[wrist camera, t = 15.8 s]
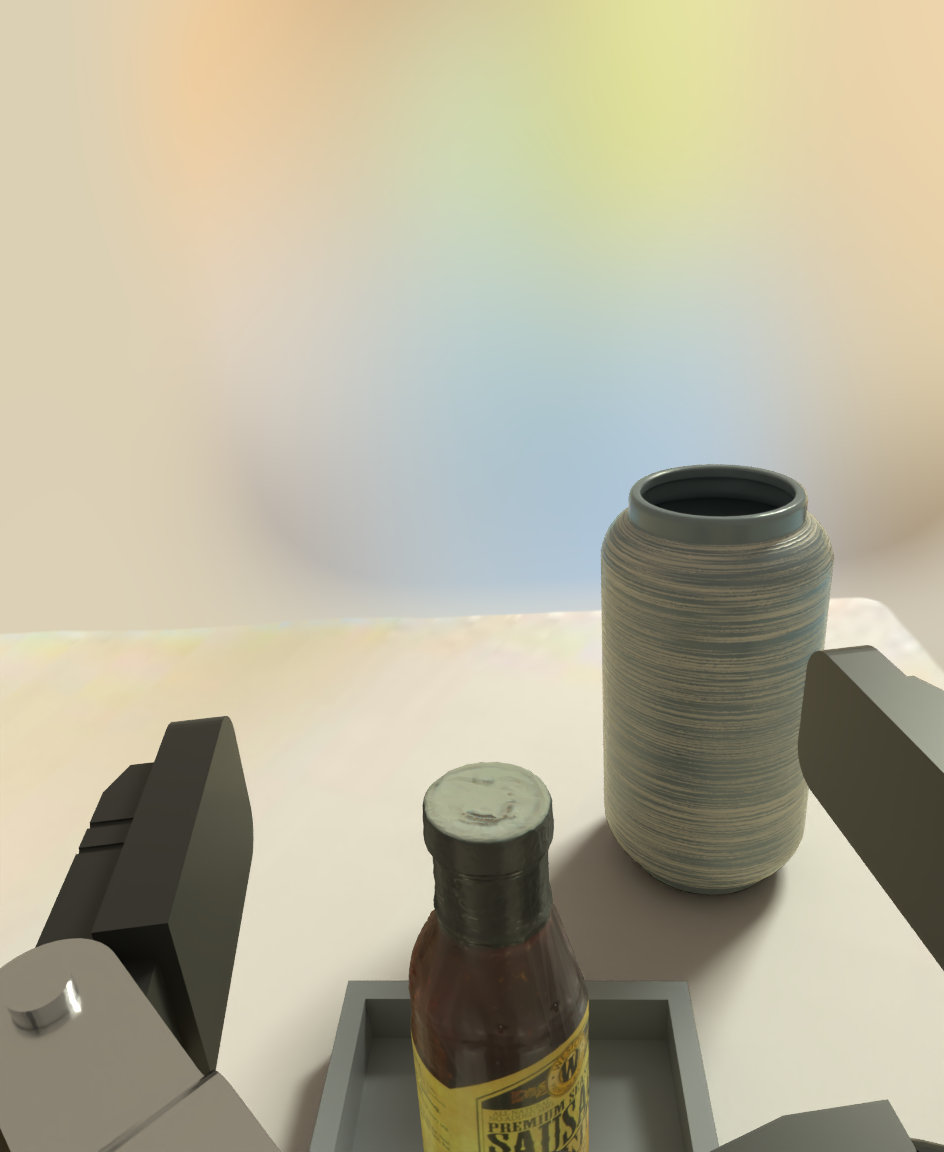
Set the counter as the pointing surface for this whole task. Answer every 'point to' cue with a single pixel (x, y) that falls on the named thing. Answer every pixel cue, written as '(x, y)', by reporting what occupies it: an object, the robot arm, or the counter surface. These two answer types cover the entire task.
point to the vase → (710, 671)
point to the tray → (616, 1070)
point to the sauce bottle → (496, 975)
